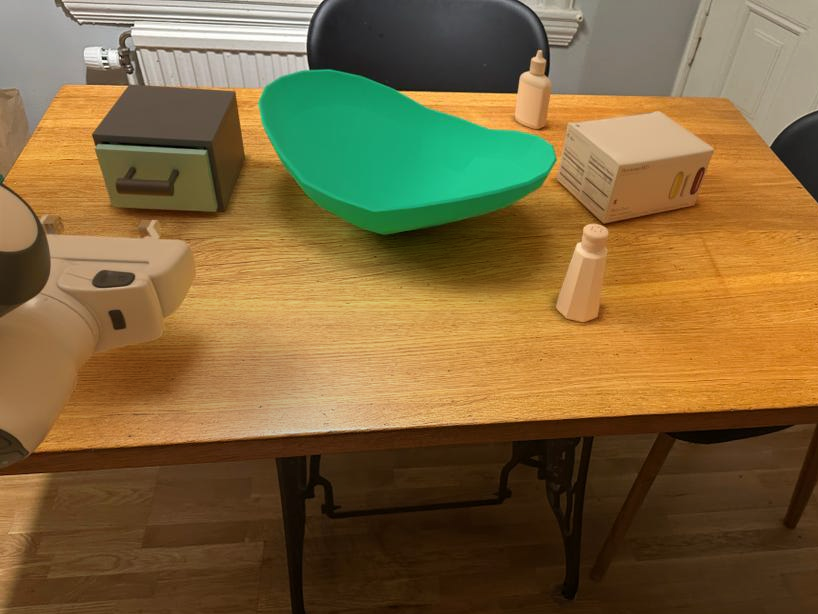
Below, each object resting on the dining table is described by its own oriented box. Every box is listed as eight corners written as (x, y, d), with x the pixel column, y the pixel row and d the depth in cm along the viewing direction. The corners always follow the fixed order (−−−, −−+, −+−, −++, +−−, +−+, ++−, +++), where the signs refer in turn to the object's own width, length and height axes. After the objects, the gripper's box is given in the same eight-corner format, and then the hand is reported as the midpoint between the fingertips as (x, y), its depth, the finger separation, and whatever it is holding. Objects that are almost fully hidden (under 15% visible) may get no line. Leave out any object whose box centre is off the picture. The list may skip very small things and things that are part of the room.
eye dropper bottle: (523, 131, 116) (533, 57, 108) (512, 116, 120) (521, 44, 112) (547, 129, 118) (559, 57, 109) (535, 115, 121) (546, 44, 113)
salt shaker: (592, 293, 85) (612, 215, 78) (605, 322, 81) (628, 243, 74) (549, 294, 84) (566, 216, 77) (561, 323, 80) (579, 244, 73)
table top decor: (217, 208, 91) (198, 109, 82) (348, 135, 110) (345, 48, 100) (478, 324, 79) (490, 224, 70) (576, 220, 97) (596, 130, 88)
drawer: (207, 233, 85) (195, 174, 80) (99, 228, 84) (79, 168, 78) (236, 160, 99) (227, 106, 93) (143, 155, 97) (129, 100, 92)
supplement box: (603, 226, 97) (619, 164, 90) (555, 180, 105) (566, 121, 99) (696, 206, 103) (717, 147, 97) (644, 164, 112) (659, 108, 105)
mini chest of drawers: (224, 211, 91) (211, 141, 84) (113, 206, 89) (91, 134, 83) (245, 157, 101) (235, 91, 95) (146, 152, 100) (129, 84, 93)
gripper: (-62, 333, 62) (6, 245, 72) (178, 339, 64) (211, 253, 74) (-95, 275, 57) (-18, 190, 67) (164, 284, 59) (201, 200, 70)
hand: (104, 223), depth 71 cm, fingers open, 8 cm apart
